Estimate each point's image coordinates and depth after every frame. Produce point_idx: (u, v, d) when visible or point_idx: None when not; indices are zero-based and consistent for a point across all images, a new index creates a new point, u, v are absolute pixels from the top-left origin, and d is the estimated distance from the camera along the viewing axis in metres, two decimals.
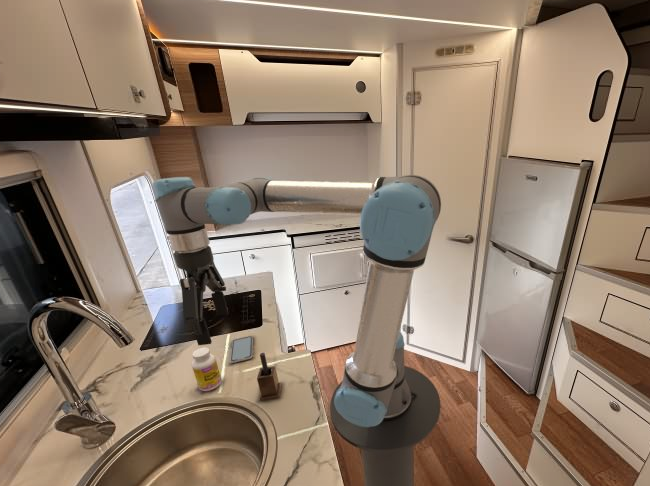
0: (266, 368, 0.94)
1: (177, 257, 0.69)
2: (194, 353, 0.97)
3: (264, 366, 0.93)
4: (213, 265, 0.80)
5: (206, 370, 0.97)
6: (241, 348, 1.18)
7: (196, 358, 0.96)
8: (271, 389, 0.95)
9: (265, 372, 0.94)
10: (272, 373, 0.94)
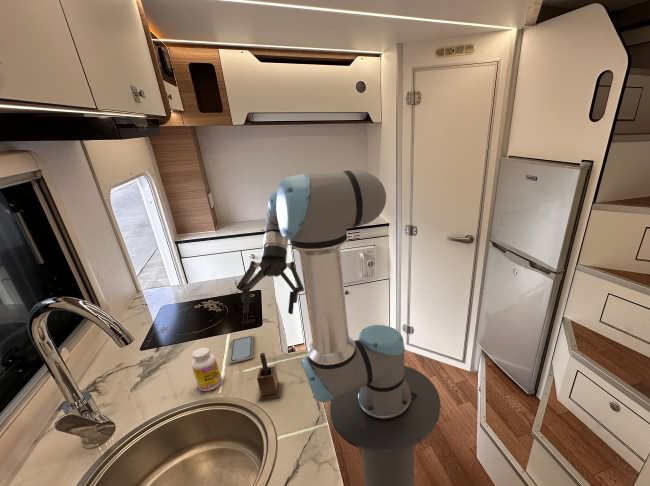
0: (266, 368, 0.94)
1: None
2: (194, 353, 0.97)
3: (264, 366, 0.93)
4: (291, 267, 1.00)
5: (206, 370, 0.97)
6: (241, 348, 1.18)
7: (196, 358, 0.96)
8: (271, 389, 0.95)
9: (265, 372, 0.94)
10: (272, 373, 0.94)
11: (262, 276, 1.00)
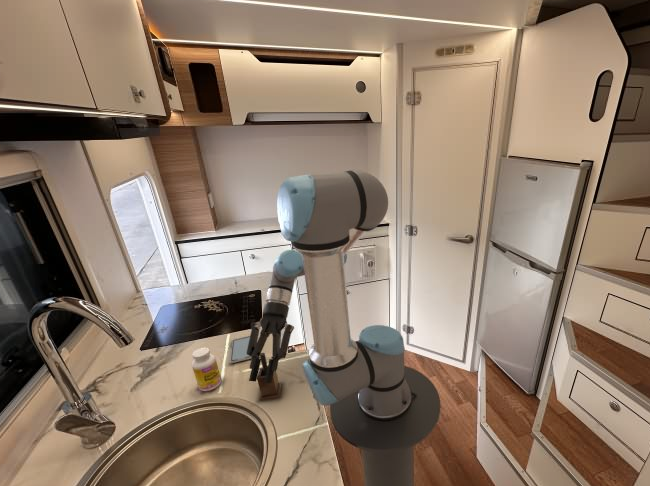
0: (266, 368, 0.94)
1: None
2: (194, 353, 0.97)
3: (264, 366, 0.93)
4: (286, 329, 0.95)
5: (206, 370, 0.97)
6: (241, 348, 1.18)
7: (196, 358, 0.96)
8: (271, 389, 0.95)
9: (265, 372, 0.94)
10: None
11: (266, 335, 0.97)
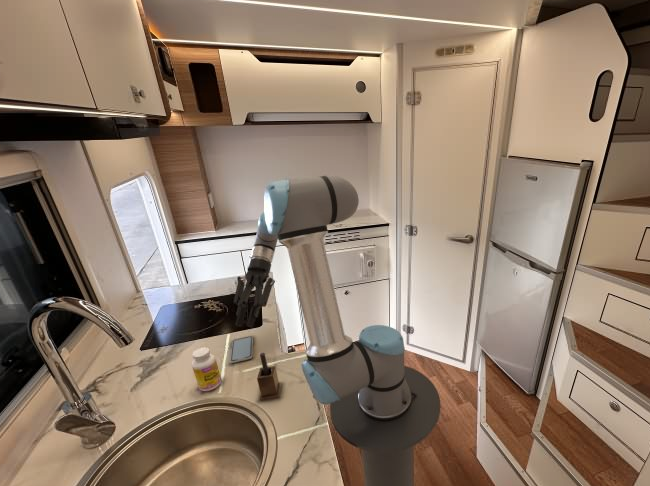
0: (266, 368, 0.94)
1: None
2: (194, 353, 0.97)
3: (264, 366, 0.93)
4: (267, 282, 1.08)
5: (206, 370, 0.97)
6: (241, 348, 1.18)
7: (196, 358, 0.96)
8: (271, 389, 0.95)
9: (265, 372, 0.94)
10: (272, 373, 0.94)
11: (251, 287, 1.10)
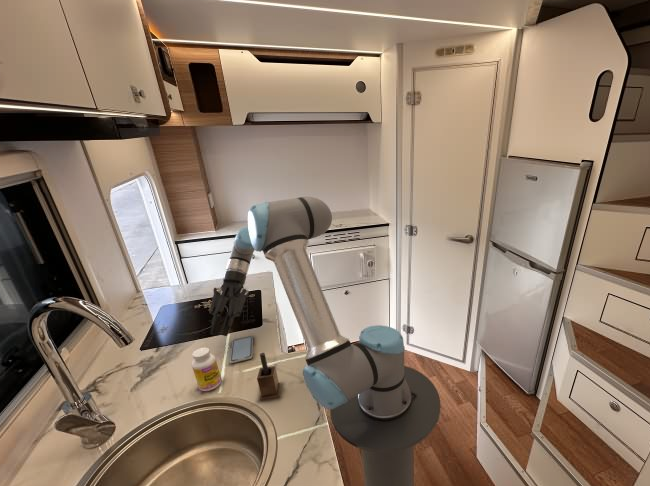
0: (266, 368, 0.94)
1: None
2: (194, 353, 0.97)
3: (264, 366, 0.93)
4: (241, 293, 1.15)
5: (206, 370, 0.97)
6: (241, 348, 1.18)
7: (196, 358, 0.96)
8: (271, 389, 0.95)
9: (265, 372, 0.94)
10: (272, 373, 0.94)
11: (226, 298, 1.16)
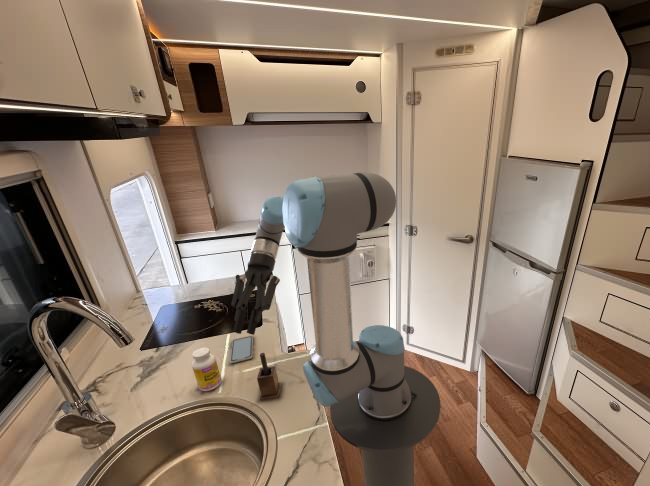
0: (266, 368, 0.94)
1: None
2: (194, 353, 0.97)
3: (264, 366, 0.93)
4: (271, 280, 0.92)
5: (206, 370, 0.97)
6: (241, 348, 1.18)
7: (196, 358, 0.96)
8: (271, 389, 0.95)
9: (265, 372, 0.94)
10: (272, 373, 0.94)
11: (251, 287, 0.93)
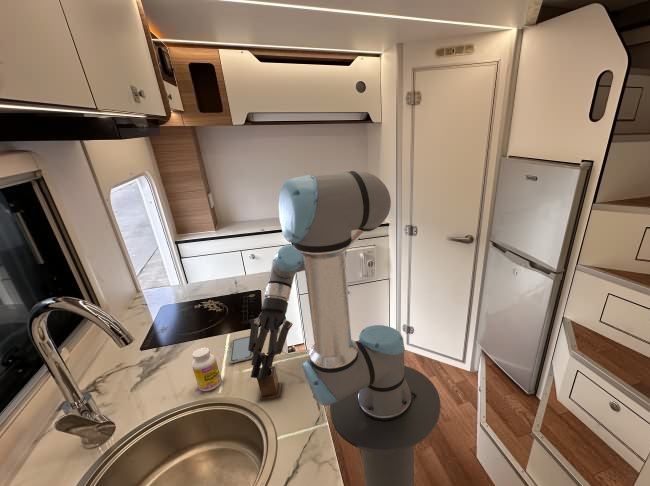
0: None
1: None
2: (194, 353, 0.97)
3: None
4: (284, 326, 0.95)
5: (206, 370, 0.97)
6: (241, 348, 1.18)
7: (196, 358, 0.96)
8: (271, 389, 0.95)
9: None
10: (272, 373, 0.94)
11: (266, 331, 0.96)
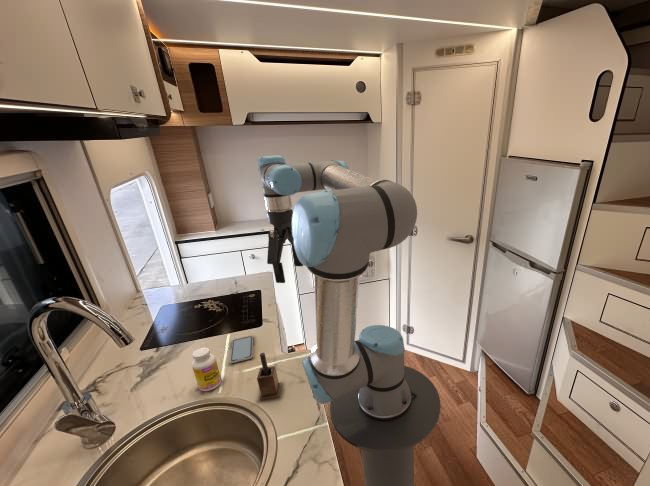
0: (266, 368, 0.94)
1: (269, 214, 0.93)
2: (194, 353, 0.97)
3: (264, 366, 0.93)
4: None
5: (206, 370, 0.97)
6: (241, 348, 1.18)
7: (196, 358, 0.96)
8: (271, 389, 0.95)
9: (265, 372, 0.94)
10: (272, 373, 0.94)
11: None
